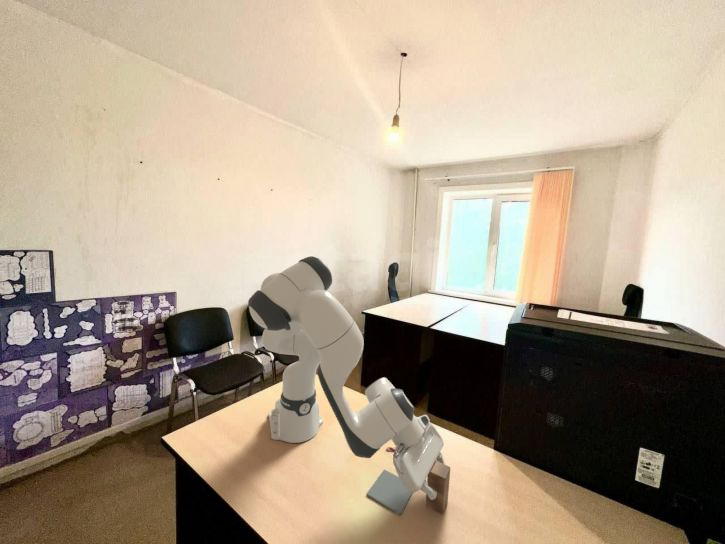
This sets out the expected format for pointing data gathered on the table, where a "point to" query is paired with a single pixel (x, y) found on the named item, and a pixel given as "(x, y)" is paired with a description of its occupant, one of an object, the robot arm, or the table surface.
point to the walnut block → (438, 486)
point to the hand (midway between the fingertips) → (440, 484)
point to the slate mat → (389, 492)
